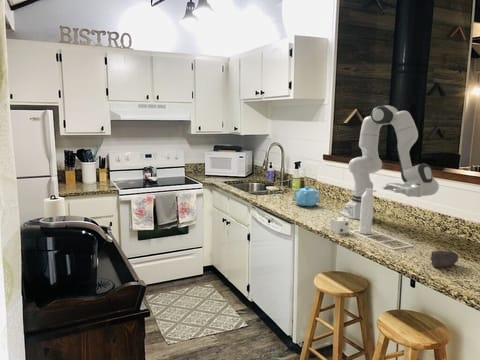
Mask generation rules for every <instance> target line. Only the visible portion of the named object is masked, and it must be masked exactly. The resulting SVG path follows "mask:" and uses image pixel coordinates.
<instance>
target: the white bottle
mask: <svg viewBox="0 0 480 360" xmlns="http://www.w3.org/2000/svg"><path fill="white" fill-rule="evenodd" d="M371 191H372V192H373V193H376V192H377V189H375V188H373V189H372V190H371V189H370V188H366V191H365V193H364V194H363V195H362V198H361V211H360V220H359V225H358V226H359V227H358V230H359V231H358V234H359V233H360V235H361V234H362V235H372V231H371V230H372V228H373V225H372V224H373V219H372V217H373V218H374V214H373V213H374V202H375V196H374V195H373V194H372V193H371ZM372 215H373V216H372Z"/></svg>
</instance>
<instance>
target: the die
mask: <svg viewBox="0 0 480 360" xmlns="http://www.w3.org/2000/svg"><path fill="white" fill-rule="evenodd" d="M349 231H350V219H346V218H344V217H342V216H341V217H331V218H330V232H334V233H335V234H337V235H340V234H341V233H342V234H349V233H350V232H349Z"/></svg>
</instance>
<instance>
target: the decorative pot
mask: <svg viewBox="0 0 480 360" xmlns="http://www.w3.org/2000/svg"><path fill="white" fill-rule="evenodd" d="M297 191H298V192H297ZM296 192H297V194H296ZM317 194H318V196H317ZM293 195H294V197H293V198H292V200H293V201H294V202H296V204H297V205H298V206H299V207H303V206H304V207H308V208H312V207H313V206H315V205H317V204H319V203H321V199H320V196H321V192H320V191H319V190H315V189H313V188H310V186H304V187H302V188H299V189H298V188H296V189H295V190H294V191H293Z"/></svg>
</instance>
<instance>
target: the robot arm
mask: <svg viewBox="0 0 480 360" xmlns="http://www.w3.org/2000/svg"><path fill="white" fill-rule="evenodd" d="M388 125H392V127H393V128H394V132H395V134H396V139H397V145H396V148H397V149H396V150H397V155H398V160H399V165H400V171H401V172H400V177H401V179H402V181H403V183H398V182H387V183H386V184H385V185H384V186H383V190H387V191H392V192H394V193H397V194H403V195H405V196H407V197H409V198H410V197H415V198H421V197H425V196H426V197H427V196H433V195H436V194H437V192H438V191H439V188H440V187H439V186H440V185H439V182H438V181H437V180H436V179H435V178H434V175H433V170H432V167H431V166H430V165H428V164H427V163H425V162H422V163H419V164H417V165H413V164H412V160H411V155H410V151H411V149H412V147H413V146H414V144H416V142H417V140H418V138H419V131H418V128H417V126H416V123H415V120H414V119H413V117H412V115H411V113H410V112H409V111H408V110H400V111H399V109H398V108H397V107H395V106H394V105H393V106H392V105H387V104H386V105H378V106H376V107H374V108H373V110H372V111H371V113H370V115H369V116H366V117H364V119H363V121H362V123H361V129H360V133H359V140H358V141H359V142H358V147H359V148H360V149H361V153H362V154H361V156H356V157H355V158H352V159H351V160H350V161H349V163H348V169H349V172H350V173H351V174H352V177H353V182H354V188H353V189H354V192H353V195H350V196H351V200H350V201H348V202H346V203H345V204H344V206H343V210H340V211H339V213H338V214H340V215H342V216H345V218H349V220H351V219H352V220H359V221H360V211H361V198H362V195H363V194H364V193H365V191H366V188H370V189H371V190H372V189H374V183H373V182H372V180H371V178H370V174H375V173H377V172H380V170H381V169H382V166H383V161H382V160H381V158H380V157H379V150H378V147H379V141H380V140H379V138H380V130H381V127H382V126H388ZM371 193H372V194H373V193H374V192H372V191H371ZM372 216H373V217H372V220H374V214H373V215H372Z"/></svg>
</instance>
